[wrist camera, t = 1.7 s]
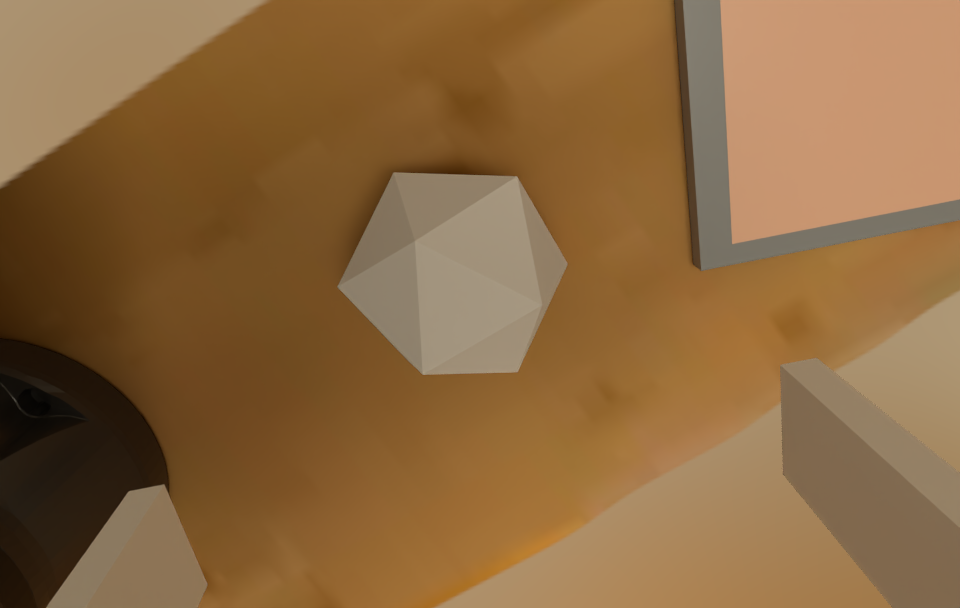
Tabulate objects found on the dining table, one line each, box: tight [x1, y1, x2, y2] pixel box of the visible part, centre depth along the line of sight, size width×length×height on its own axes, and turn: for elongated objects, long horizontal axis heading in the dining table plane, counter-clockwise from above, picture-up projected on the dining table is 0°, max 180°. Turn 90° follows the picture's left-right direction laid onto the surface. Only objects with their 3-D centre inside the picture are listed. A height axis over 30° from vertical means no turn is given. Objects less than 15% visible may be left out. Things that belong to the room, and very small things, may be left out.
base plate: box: [674, 0, 960, 271], centre depth 29 cm, size 14×14×1 cm
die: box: [338, 173, 568, 375], centre depth 27 cm, size 8×9×10 cm
